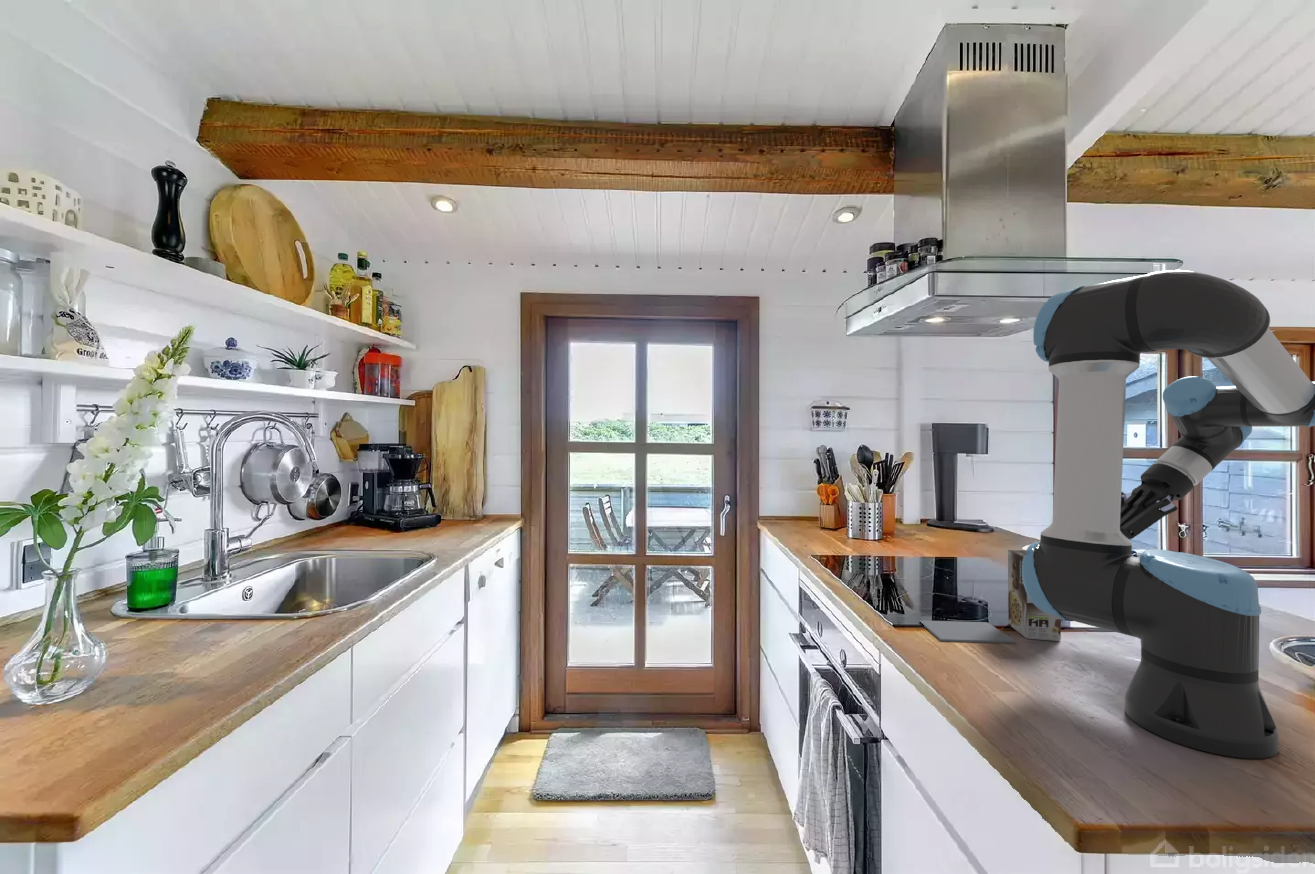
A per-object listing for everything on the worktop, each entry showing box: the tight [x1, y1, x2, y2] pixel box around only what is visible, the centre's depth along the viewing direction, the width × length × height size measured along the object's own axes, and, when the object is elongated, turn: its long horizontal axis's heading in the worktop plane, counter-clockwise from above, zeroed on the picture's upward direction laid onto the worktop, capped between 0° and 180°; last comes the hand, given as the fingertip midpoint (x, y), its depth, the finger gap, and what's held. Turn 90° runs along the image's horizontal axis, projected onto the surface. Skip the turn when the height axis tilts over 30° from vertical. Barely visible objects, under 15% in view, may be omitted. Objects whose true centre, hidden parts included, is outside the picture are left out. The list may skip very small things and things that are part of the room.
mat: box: [918, 620, 1017, 644], centre depth 114 cm, size 14×11×1 cm
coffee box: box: [1007, 549, 1062, 642], centre depth 114 cm, size 9×6×16 cm
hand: (1086, 556), depth 113 cm, fingers closed
